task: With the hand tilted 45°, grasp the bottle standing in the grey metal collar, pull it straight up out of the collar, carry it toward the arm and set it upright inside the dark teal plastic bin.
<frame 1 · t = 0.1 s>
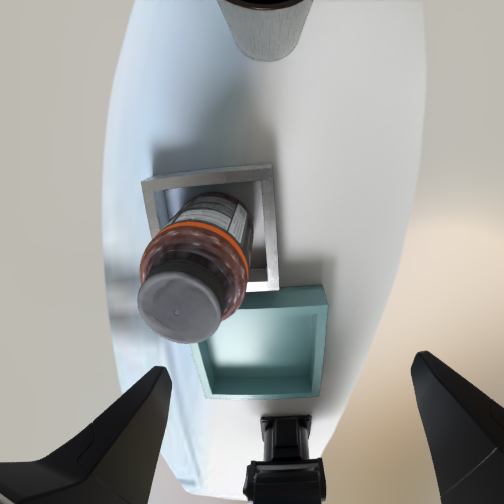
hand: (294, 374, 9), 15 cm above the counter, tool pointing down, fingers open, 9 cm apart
grey hollow cylinder: (266, 35, 17), on the counter
supplement bottle: (216, 225, 23), resting in collar
bin: (259, 339, 27), on the counter
collar: (216, 226, 23), on the counter
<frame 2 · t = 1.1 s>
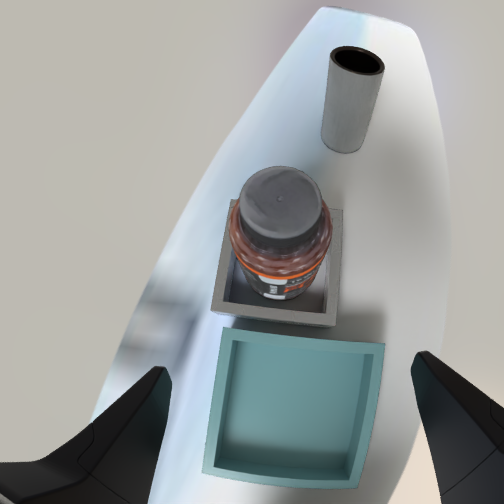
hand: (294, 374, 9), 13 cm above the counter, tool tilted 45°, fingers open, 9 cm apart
grey hollow cylinder: (341, 138, 28), on the counter
supplement bottle: (280, 266, 24), resting in collar
bin: (292, 409, 20), on the counter
collar: (280, 266, 24), on the counter
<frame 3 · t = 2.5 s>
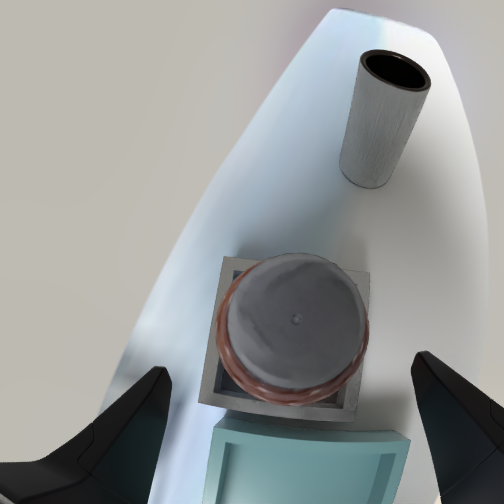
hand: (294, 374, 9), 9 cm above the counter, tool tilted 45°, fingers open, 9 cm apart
grey hollow cylinder: (364, 167, 23), on the counter
supplement bottle: (287, 342, 19), resting in collar
bin: (295, 500, 14), on the counter
collar: (287, 342, 18), on the counter
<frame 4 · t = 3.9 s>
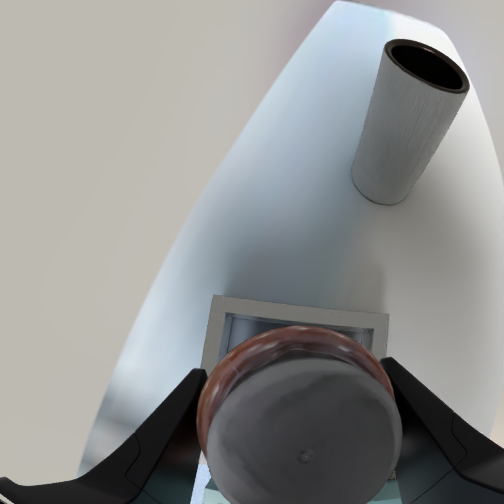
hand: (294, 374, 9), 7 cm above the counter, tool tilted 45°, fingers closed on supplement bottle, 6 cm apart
grey hollow cylinder: (380, 179, 19), on the counter
supplement bottle: (288, 390, 15), resting in collar, touching gripper
collar: (288, 391, 15), on the counter
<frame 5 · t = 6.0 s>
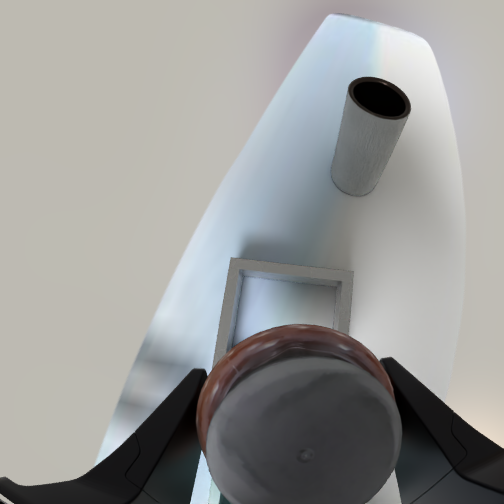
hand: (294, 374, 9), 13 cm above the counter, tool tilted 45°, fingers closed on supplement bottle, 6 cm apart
grey hollow cylinder: (353, 176, 26), on the counter
supplement bottle: (288, 389, 15), point 6 cm above the counter, touching gripper
collar: (284, 329, 22), on the counter
when the fingers open (8 cm above the counter, at t = 8.1 s): supplement bottle drops 1 cm, resting on bin.
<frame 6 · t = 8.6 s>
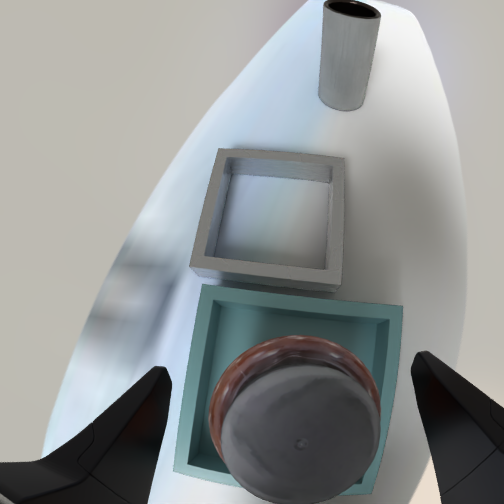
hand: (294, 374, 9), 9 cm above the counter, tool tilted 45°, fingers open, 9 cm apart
grey hollow cylinder: (340, 98, 25), on the counter
supplement bottle: (288, 390, 16), resting on bin
bin: (288, 394, 17), on the counter
collar: (274, 221, 21), on the counter
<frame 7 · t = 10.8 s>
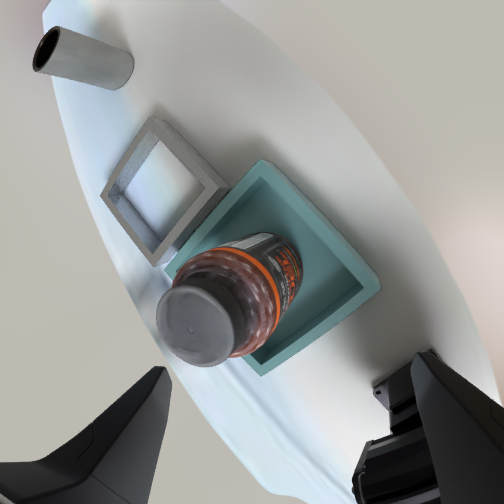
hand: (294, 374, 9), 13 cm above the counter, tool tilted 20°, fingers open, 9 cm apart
grey hollow cylinder: (120, 72, 25), on the counter
supplement bottle: (267, 267, 23), resting on bin
bin: (272, 269, 23), on the counter
collar: (164, 190, 25), on the counter
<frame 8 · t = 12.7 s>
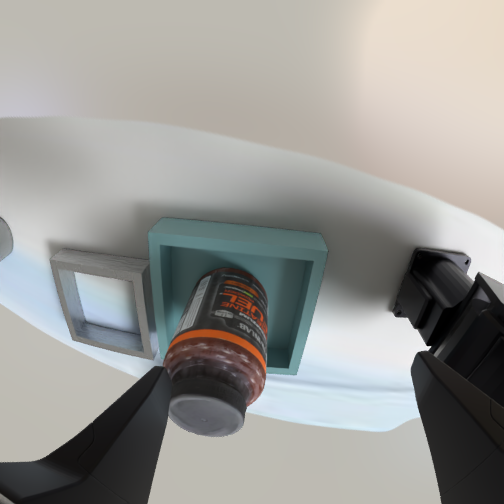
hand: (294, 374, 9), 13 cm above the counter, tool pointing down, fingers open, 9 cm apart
grey hollow cylinder: (2, 235, 23), on the counter
supplement bottle: (230, 296, 23), resting on bin
bin: (235, 293, 23), on the counter
collar: (110, 298, 25), on the counter
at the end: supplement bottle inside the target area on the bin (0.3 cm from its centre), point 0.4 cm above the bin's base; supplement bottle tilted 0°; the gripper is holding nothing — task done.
